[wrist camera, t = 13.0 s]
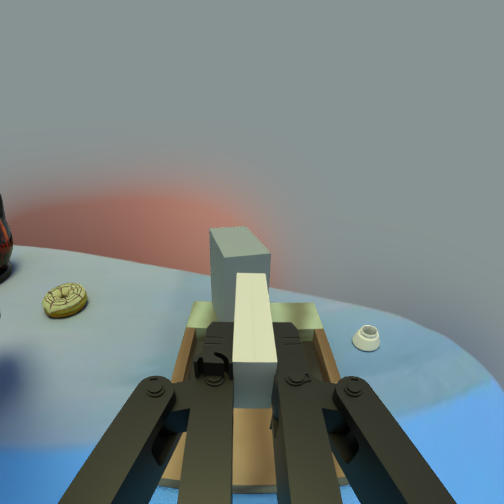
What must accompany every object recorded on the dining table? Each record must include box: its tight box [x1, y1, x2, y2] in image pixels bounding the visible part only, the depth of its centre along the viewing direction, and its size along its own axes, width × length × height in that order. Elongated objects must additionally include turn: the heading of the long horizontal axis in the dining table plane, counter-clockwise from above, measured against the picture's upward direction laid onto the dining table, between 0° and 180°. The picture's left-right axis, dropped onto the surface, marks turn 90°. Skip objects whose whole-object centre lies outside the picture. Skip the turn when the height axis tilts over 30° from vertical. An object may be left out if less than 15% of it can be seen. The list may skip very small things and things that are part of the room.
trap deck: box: [158, 301, 349, 494], centre depth 36 cm, size 22×34×3 cm, turn 1°
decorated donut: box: [42, 283, 87, 318], centre depth 50 cm, size 10×11×4 cm
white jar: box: [352, 325, 380, 351], centre depth 44 cm, size 5×3×5 cm
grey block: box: [209, 226, 271, 322], centre depth 44 cm, size 6×12×14 cm, turn 17°
